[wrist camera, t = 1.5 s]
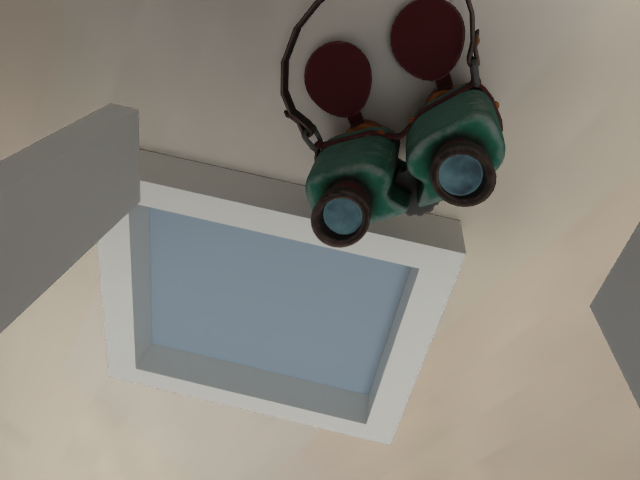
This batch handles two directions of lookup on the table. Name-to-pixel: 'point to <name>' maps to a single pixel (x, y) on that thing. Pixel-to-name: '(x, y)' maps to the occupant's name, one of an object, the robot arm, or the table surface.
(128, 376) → the case
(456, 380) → the table surface
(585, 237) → the table surface
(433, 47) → the binoculars
